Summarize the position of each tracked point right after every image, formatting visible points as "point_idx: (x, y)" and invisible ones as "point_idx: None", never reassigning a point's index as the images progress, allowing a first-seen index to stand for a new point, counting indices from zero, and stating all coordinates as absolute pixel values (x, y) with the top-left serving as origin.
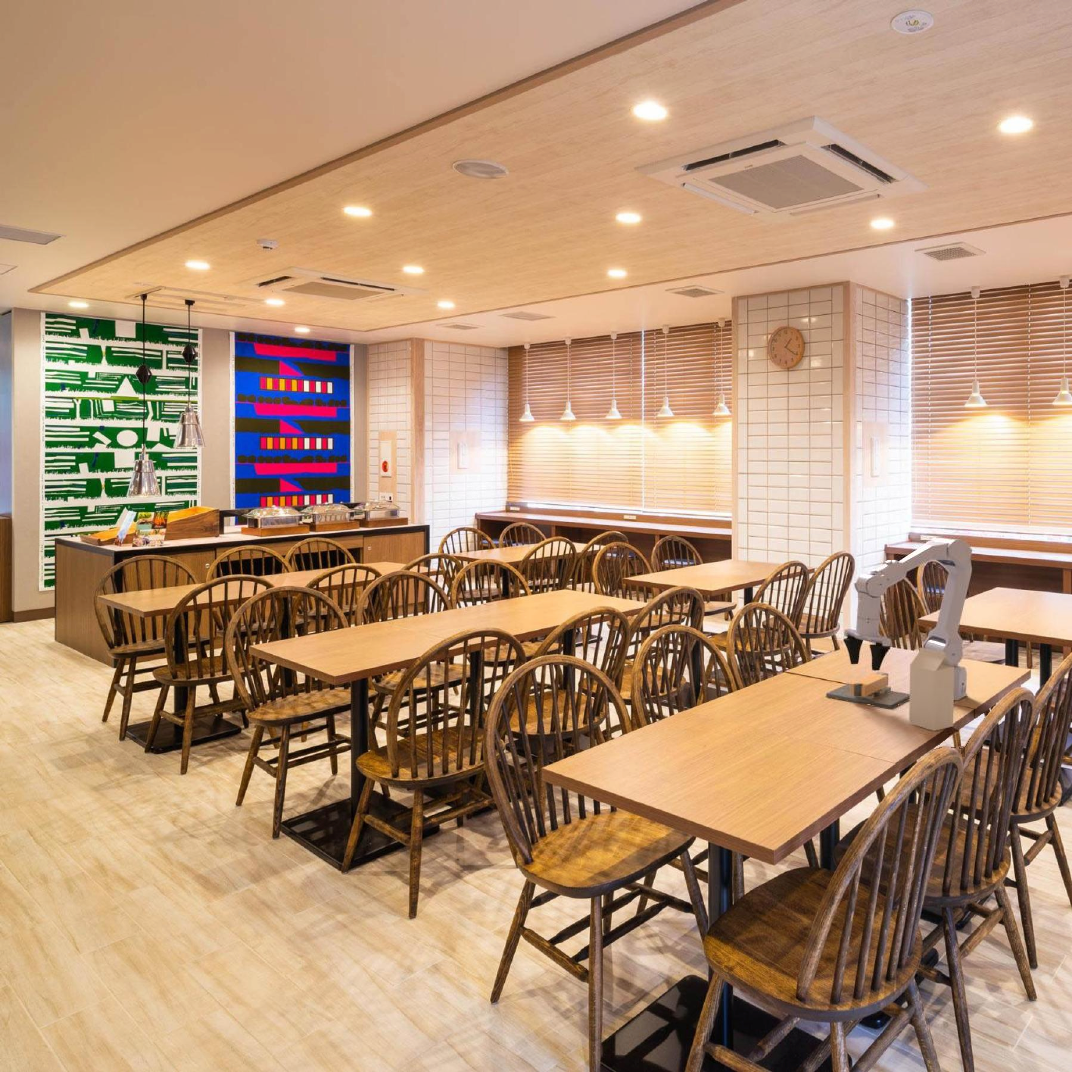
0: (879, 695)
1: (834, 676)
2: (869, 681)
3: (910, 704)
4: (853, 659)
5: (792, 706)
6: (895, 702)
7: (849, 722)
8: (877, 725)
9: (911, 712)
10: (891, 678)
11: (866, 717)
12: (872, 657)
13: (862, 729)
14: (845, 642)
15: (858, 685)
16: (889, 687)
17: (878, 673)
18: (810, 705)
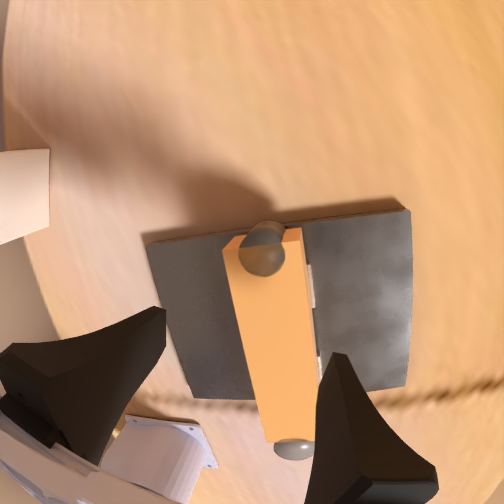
0: None
1: (466, 424)
2: (260, 338)
3: (6, 152)
4: (331, 379)
5: (395, 3)
6: (158, 289)
7: (149, 10)
8: (88, 62)
9: (21, 150)
10: None
11: (142, 90)
12: (110, 342)
13: (98, 6)
14: (410, 460)
15: (248, 235)
16: None
17: (306, 446)
18: (368, 52)
